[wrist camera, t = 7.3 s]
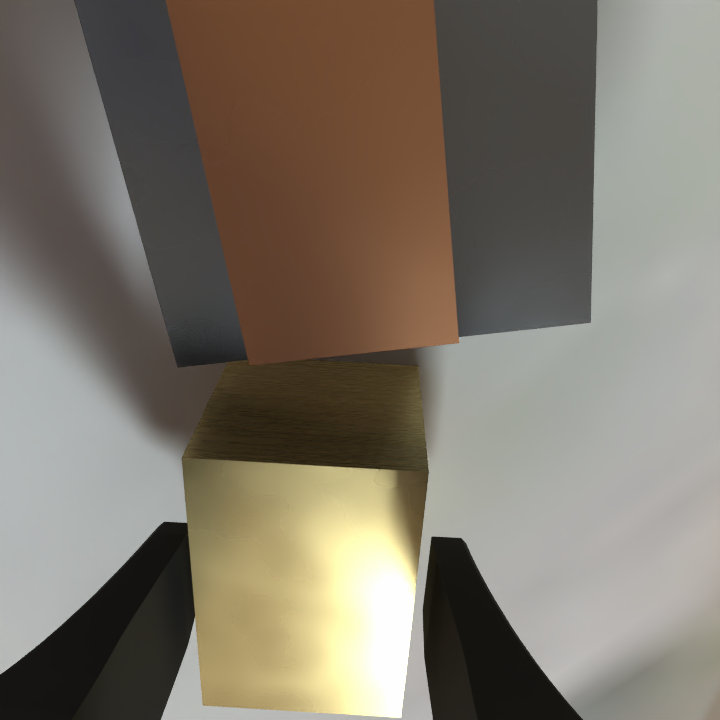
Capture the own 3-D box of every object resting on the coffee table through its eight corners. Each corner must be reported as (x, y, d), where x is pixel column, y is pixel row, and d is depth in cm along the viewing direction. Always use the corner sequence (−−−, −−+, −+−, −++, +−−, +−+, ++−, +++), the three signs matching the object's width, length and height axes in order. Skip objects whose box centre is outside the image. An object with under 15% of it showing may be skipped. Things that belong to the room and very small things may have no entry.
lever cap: (241, 563, 17) (202, 705, 13) (232, 352, 14) (182, 457, 11) (397, 572, 17) (400, 718, 13) (417, 362, 14) (428, 472, 11)
